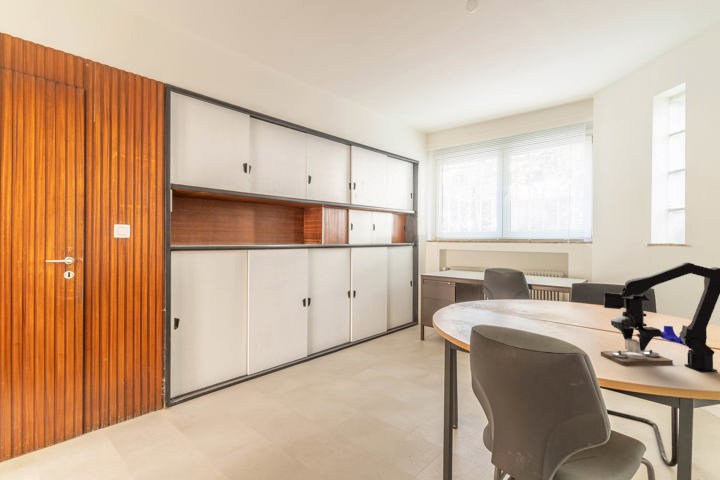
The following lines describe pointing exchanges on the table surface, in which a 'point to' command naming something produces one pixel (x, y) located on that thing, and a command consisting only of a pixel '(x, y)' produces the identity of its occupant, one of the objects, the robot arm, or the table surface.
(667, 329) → the blue bracket
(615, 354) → the gear peg base
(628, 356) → the gear board
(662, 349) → the table surface
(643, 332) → the robot arm
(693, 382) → the table surface
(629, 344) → the loose gear
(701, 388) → the table surface
